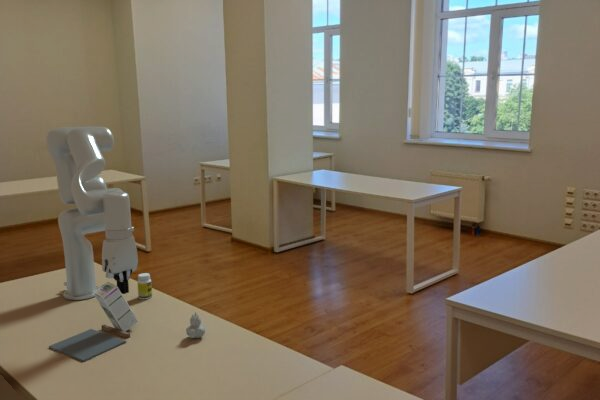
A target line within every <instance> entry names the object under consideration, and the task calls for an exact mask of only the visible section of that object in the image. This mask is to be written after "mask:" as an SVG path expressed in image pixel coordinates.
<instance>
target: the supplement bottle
mask: <svg viewBox="0 0 600 400" xmlns="http://www.w3.org/2000/svg"><path fill="white" fill-rule="evenodd" d="M152 288H153V287H152V279H151V275H150V273H148V272H145V273H140V274H139V273H138V275H137V295H138V299H139V300H149V299H152V298H153V289H152Z"/></svg>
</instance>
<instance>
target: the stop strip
mask: <svg viewBox="0 0 600 400" xmlns="http://www.w3.org/2000/svg"><path fill="white" fill-rule="evenodd" d="M101 330H103V331H106V332H109V333H111V334H114V335H117V336H120V337H123V338H126V339H129V338H131V333H130V332H128V331H126V332H125V331H122V330H119V329H116V328H115V327H114V326H109V325H107V324H102V325H101Z"/></svg>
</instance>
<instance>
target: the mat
mask: <svg viewBox="0 0 600 400" xmlns="http://www.w3.org/2000/svg"><path fill="white" fill-rule="evenodd" d="M126 343H127V340H124V339H121V338H119V337H116V336H113V335H110V334H107V333H105V332H101V331H99V330H96V329H93V328H89V329H87V330H85V331H83V332H80V333H77V334H75V335H73V336H70V337H67V338H65V339H63V340H59V341H58V342H56V343H53V344H51V345H49V346H48V349H51V350H53V349H54V350H53V351H56V352H57V353H58V352H59V353H60V354H63V355H66V356H68V357H70V358H72V359H75V360H78V361H80V362H83V363H85V362H87V361H88V360H91V359H93V358H96V357H99V356H100V355H102V354H104V353H106V352H109V351H111V350H113V349H115V348H117V347H120V346H122V345H124V344H126Z"/></svg>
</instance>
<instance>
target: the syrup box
mask: <svg viewBox="0 0 600 400" xmlns="http://www.w3.org/2000/svg"><path fill="white" fill-rule="evenodd" d="M93 294H94V295H95V299H96V300H97V302H98V304H99V306H100V307H101V308H102V310H103V311H104V313H105V314H106V316H107V318H108V319H109V321H110V323H111V324H112V327H113V328H116V329H119V330H122V331H125V332H128V330H129V329H131V328H132V327H133V326H134V325H135V324H137V323H138V322H139V320H138V319H137V317H136V315H135V313H134V311H133V309H132V308H131V306H130V305H129V303H128V302H127V300H126V298H125V296H124V294H122V293H121V292H120V290H119V288H118V286H117V284H114V283H111V282H110V281H107V282H105V283H104V284H102V285H101V286H100V288H98V289H97V290H96V291H95V292H94V293H93Z"/></svg>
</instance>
